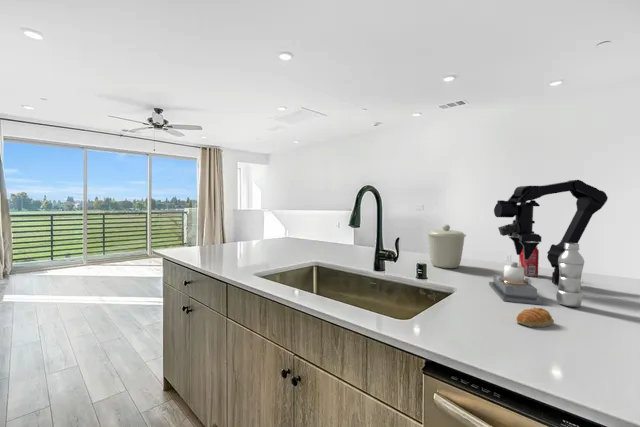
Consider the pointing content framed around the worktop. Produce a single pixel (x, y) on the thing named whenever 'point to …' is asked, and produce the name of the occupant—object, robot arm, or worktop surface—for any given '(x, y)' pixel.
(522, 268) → the white rounded piece
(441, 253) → the canister
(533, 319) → the pastry
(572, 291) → the plastic bottle
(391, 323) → the worktop surface
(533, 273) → the soda can
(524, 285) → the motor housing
